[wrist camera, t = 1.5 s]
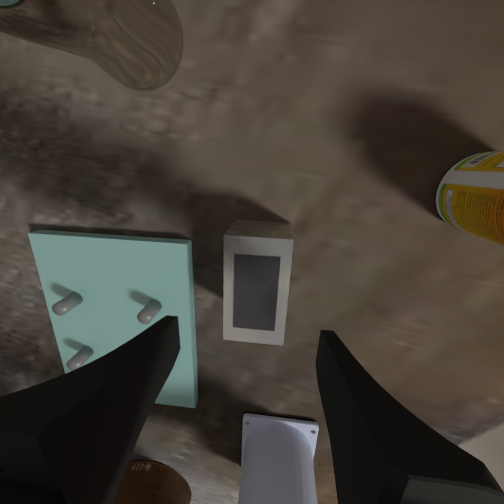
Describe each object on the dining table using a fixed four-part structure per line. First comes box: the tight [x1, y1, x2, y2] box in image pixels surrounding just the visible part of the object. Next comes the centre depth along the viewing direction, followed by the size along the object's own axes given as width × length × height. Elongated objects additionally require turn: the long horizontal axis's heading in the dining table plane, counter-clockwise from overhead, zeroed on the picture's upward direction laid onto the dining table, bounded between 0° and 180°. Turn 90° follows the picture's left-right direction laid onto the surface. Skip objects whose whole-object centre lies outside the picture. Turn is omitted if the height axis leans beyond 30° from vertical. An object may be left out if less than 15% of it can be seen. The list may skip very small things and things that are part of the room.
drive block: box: [223, 219, 294, 346], centre depth 19 cm, size 8×4×5 cm, turn 178°
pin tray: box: [28, 230, 198, 408], centre depth 24 cm, size 18×14×3 cm
